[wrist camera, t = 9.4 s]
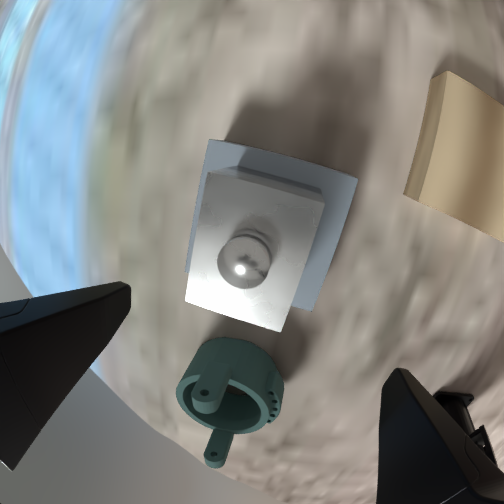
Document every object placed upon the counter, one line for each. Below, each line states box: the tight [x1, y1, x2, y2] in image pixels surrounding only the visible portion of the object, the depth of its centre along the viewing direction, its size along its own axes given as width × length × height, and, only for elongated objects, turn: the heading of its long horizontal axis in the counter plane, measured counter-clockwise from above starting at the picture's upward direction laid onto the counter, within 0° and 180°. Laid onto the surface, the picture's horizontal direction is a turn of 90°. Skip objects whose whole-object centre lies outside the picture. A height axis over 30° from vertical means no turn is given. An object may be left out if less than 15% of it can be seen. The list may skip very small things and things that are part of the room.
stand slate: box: [185, 139, 358, 312], centre depth 19 cm, size 9×9×3 cm
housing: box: [185, 165, 325, 332], centre depth 14 cm, size 5×6×6 cm
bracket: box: [176, 337, 284, 468], centre depth 21 cm, size 9×9×9 cm
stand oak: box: [403, 70, 504, 243], centre depth 14 cm, size 9×9×3 cm
